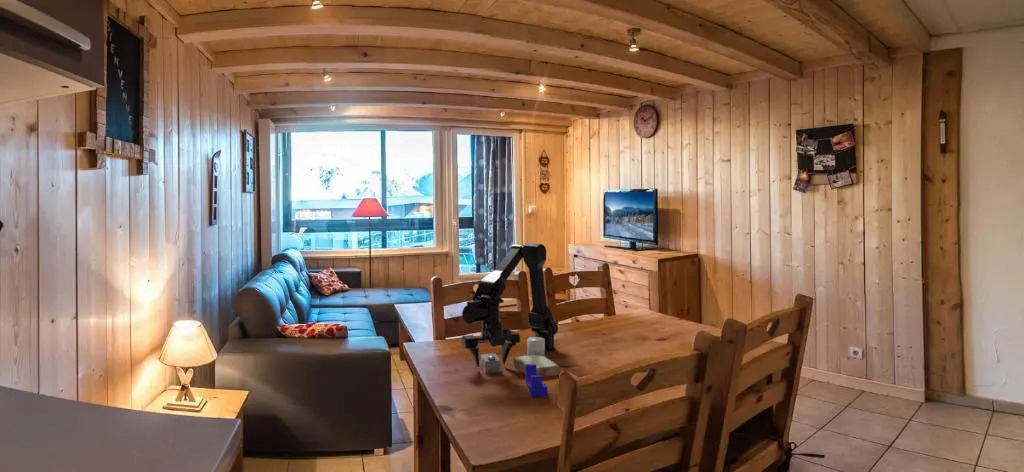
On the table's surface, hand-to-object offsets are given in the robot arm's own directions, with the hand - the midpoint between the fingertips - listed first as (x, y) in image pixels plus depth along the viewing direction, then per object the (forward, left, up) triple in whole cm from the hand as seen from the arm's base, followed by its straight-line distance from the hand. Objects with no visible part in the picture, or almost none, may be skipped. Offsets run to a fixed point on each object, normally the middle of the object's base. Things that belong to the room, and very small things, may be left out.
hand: (490, 365), depth 174 cm
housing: (0, 0, -1) cm, 1 cm away
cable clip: (-6, +23, -2) cm, 24 cm away
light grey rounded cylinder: (-18, -4, -1) cm, 18 cm away
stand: (-13, +7, -1) cm, 15 cm away
